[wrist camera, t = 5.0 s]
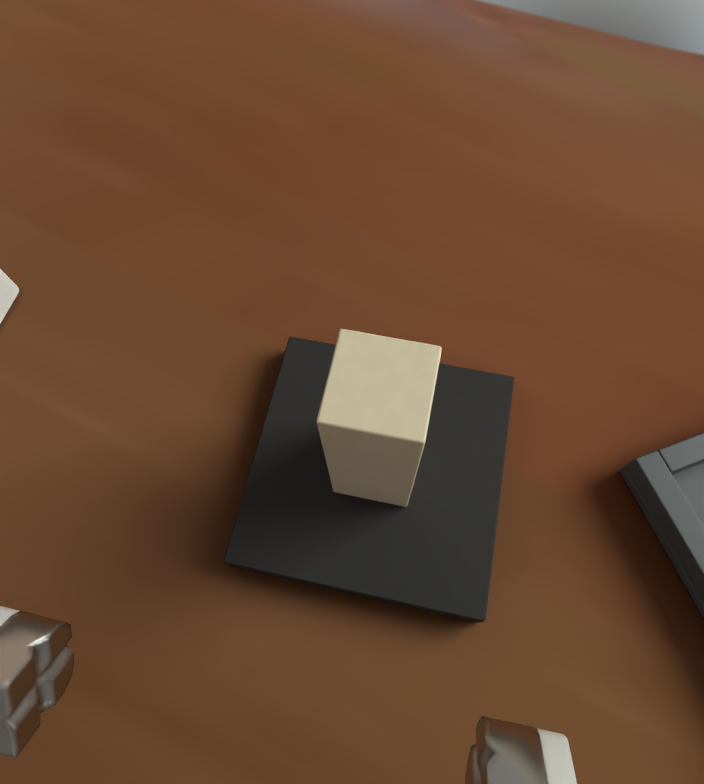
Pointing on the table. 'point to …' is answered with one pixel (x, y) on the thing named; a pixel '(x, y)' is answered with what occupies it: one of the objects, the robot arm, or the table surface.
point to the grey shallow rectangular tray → (675, 505)
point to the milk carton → (6, 294)
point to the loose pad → (364, 530)
